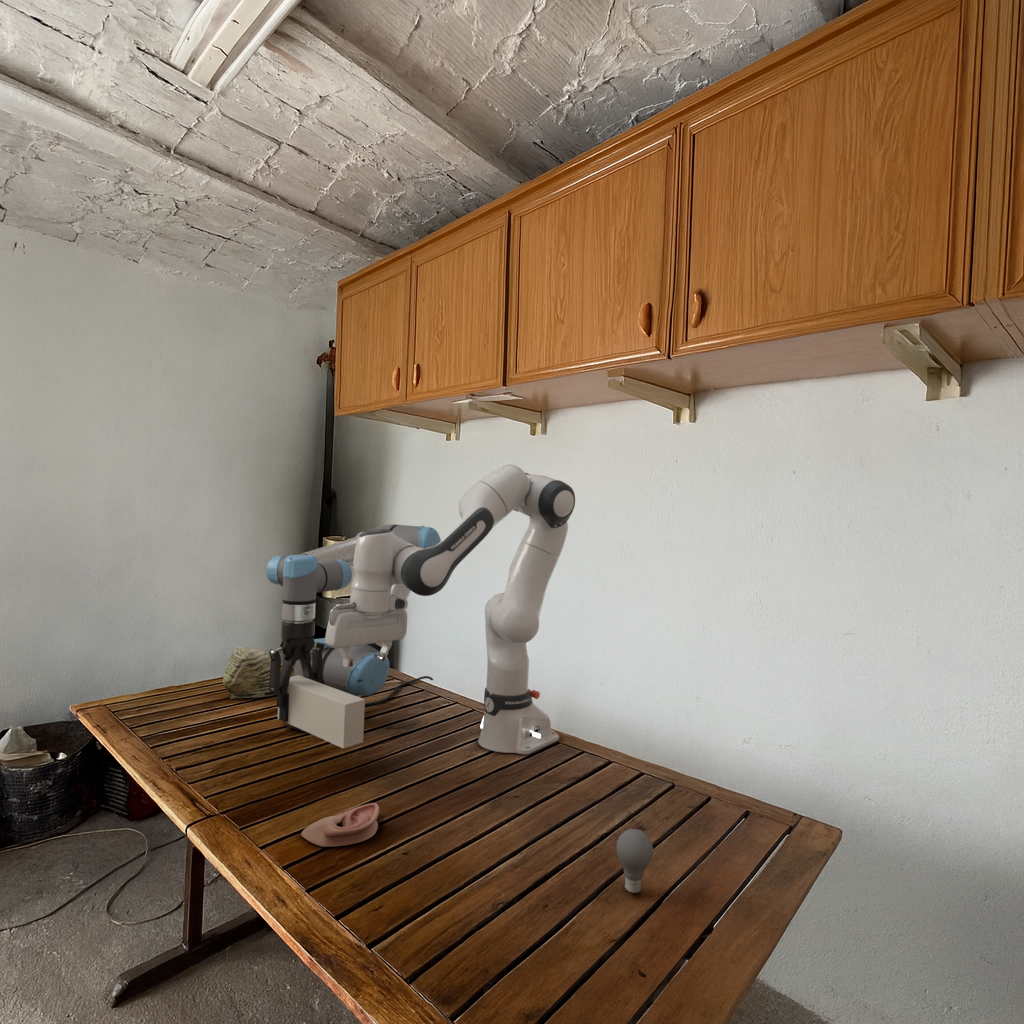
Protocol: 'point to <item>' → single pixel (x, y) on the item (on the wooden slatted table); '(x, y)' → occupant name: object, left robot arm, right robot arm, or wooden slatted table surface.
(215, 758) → the wooden slatted table surface
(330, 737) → the bar
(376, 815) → the anatomical model
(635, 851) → the light bulb
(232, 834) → the wooden slatted table surface
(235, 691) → the fossil
